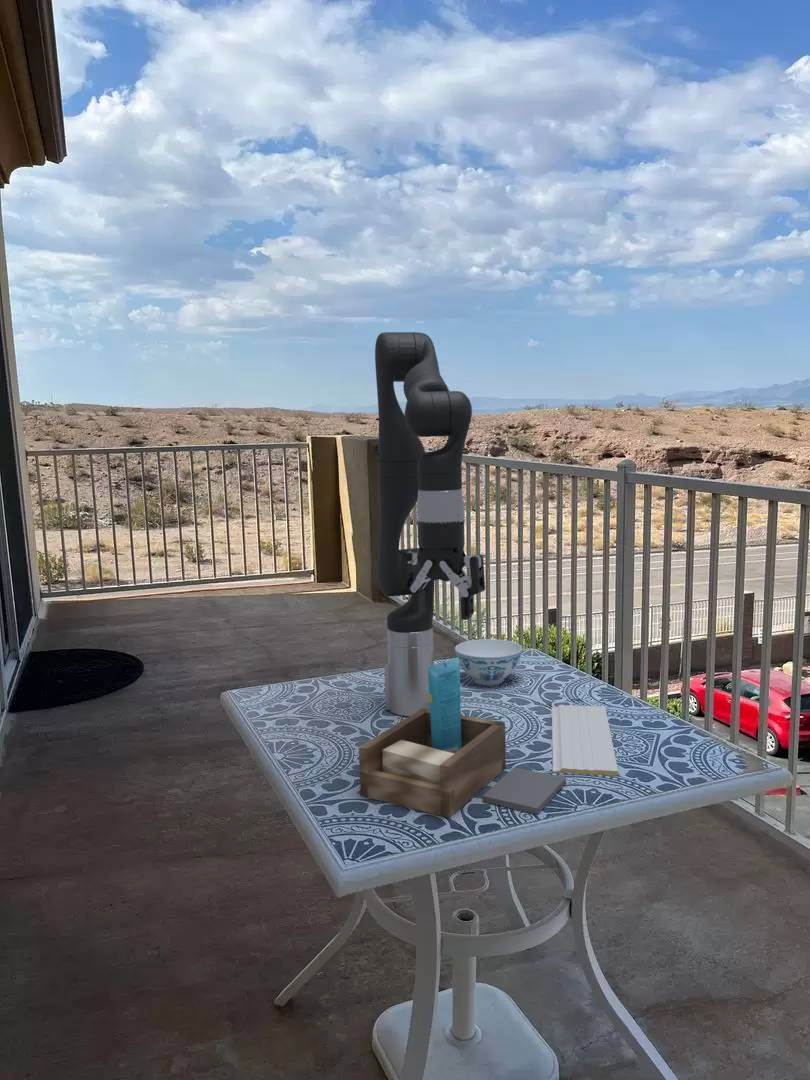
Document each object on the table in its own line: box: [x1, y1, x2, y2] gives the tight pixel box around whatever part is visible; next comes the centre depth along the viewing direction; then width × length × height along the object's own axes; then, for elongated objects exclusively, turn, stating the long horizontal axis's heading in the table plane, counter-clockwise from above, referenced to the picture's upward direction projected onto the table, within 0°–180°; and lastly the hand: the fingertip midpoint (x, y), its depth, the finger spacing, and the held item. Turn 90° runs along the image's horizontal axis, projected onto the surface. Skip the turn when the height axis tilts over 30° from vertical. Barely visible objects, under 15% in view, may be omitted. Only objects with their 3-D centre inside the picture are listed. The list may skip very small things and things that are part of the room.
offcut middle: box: [382, 765, 440, 785], centre depth 130 cm, size 11×5×2 cm, turn 57°
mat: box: [482, 766, 567, 816], centre depth 130 cm, size 9×12×1 cm
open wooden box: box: [358, 708, 507, 819], centre depth 134 cm, size 16×20×8 cm
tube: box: [428, 656, 462, 753], centre depth 137 cm, size 7×5×19 cm, turn 140°
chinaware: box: [454, 638, 523, 686], centre depth 186 cm, size 15×15×8 cm
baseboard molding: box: [545, 698, 619, 777], centre depth 151 cm, size 31×3×12 cm
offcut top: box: [382, 740, 454, 781], centre depth 129 cm, size 11×5×2 cm, turn 53°
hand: (442, 616), depth 134 cm, fingers open, 8 cm apart
